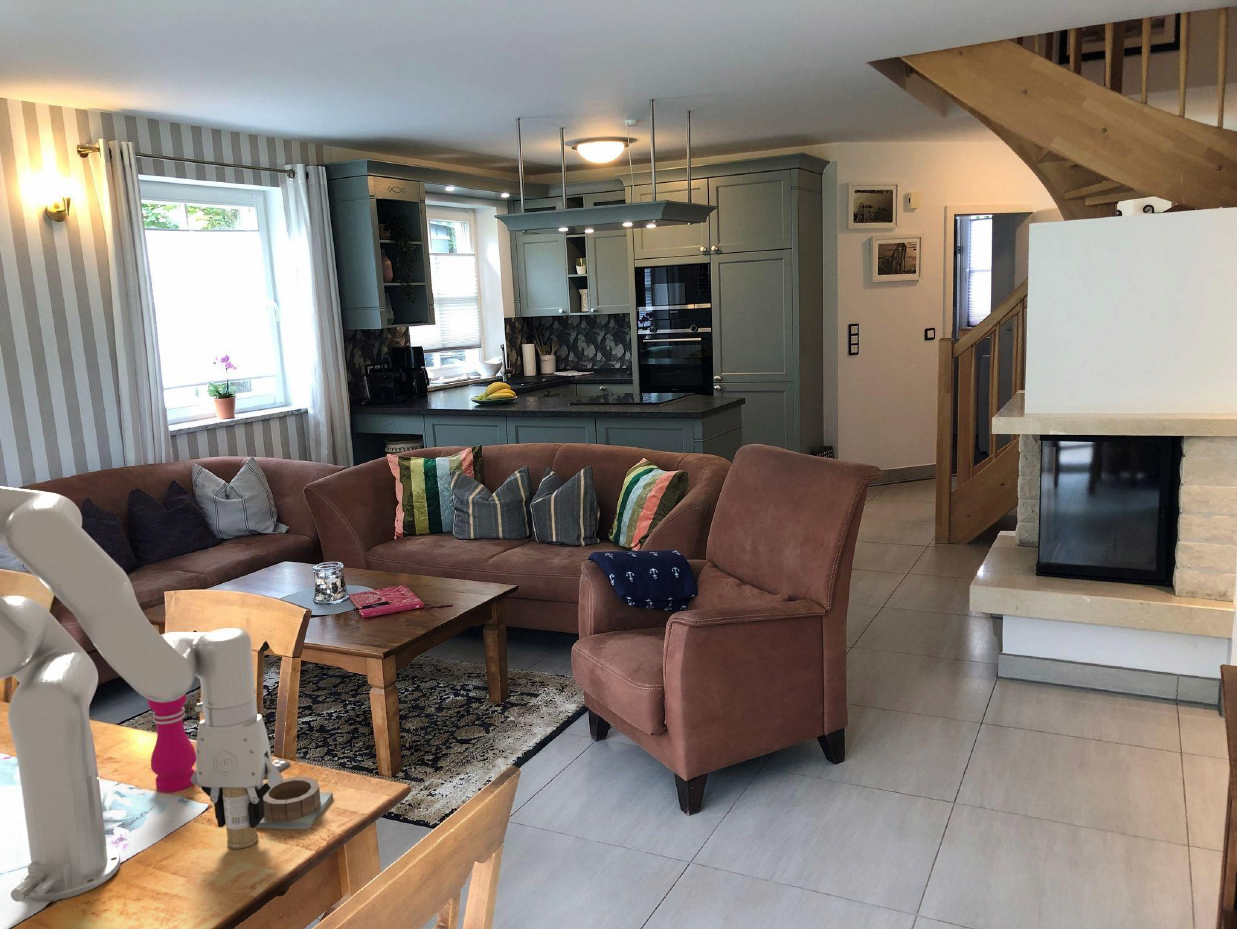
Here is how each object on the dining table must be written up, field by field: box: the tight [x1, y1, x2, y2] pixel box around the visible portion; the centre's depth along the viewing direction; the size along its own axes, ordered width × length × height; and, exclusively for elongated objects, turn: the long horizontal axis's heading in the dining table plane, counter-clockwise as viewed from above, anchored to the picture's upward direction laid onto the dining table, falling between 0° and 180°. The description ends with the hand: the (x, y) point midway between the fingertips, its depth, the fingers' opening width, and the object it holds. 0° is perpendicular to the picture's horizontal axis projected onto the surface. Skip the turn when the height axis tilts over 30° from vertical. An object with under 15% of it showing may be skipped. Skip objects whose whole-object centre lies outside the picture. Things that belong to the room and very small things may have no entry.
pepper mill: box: [147, 693, 196, 793], centre depth 165 cm, size 7×7×20 cm
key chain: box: [263, 758, 291, 780], centre depth 167 cm, size 13×4×2 cm, turn 157°
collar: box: [256, 776, 334, 830], centre depth 155 cm, size 10×10×4 cm
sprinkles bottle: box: [222, 788, 259, 850], centre depth 146 cm, size 5×5×14 cm
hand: (240, 821), depth 146 cm, fingers closed on sprinkles bottle, 4 cm apart
